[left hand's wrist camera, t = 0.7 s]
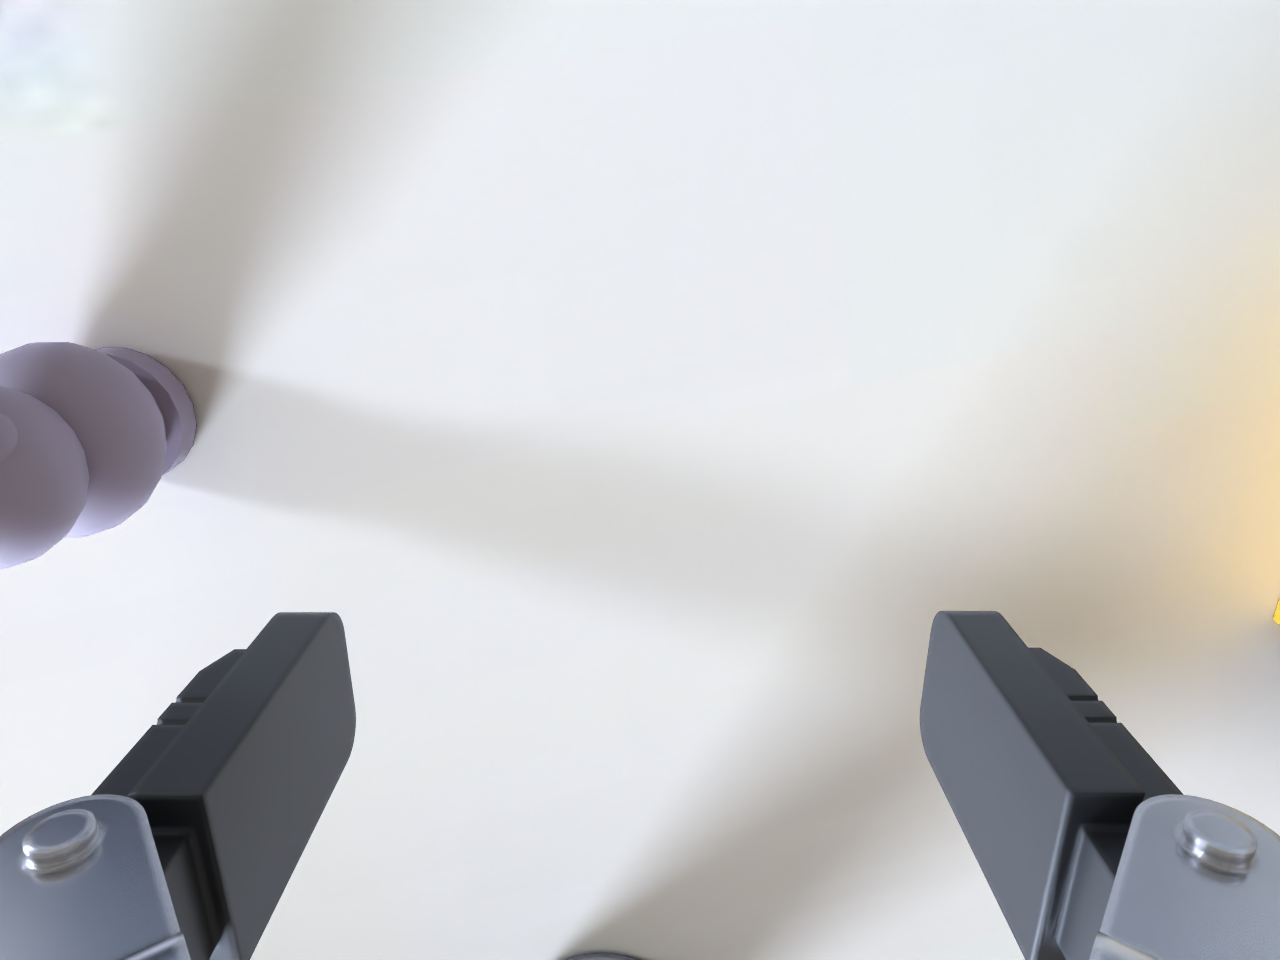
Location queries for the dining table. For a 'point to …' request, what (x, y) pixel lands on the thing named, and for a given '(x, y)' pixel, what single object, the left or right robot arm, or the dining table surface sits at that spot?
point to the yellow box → (1277, 613)
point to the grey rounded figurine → (82, 441)
